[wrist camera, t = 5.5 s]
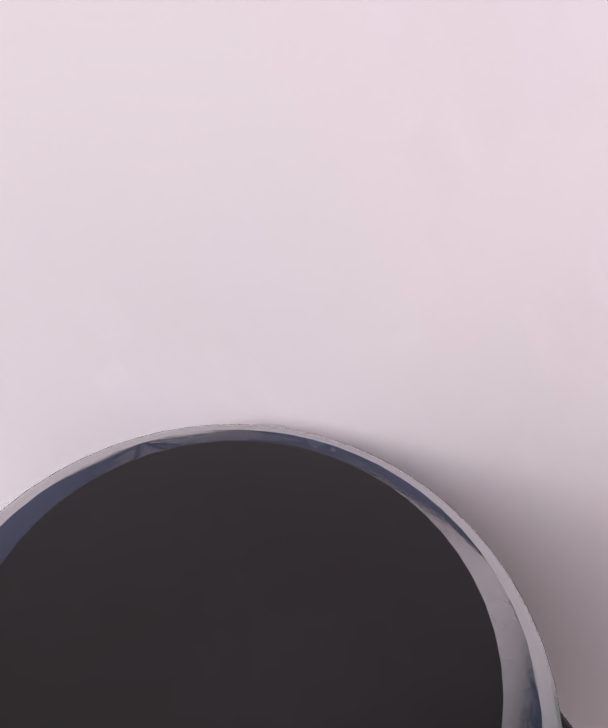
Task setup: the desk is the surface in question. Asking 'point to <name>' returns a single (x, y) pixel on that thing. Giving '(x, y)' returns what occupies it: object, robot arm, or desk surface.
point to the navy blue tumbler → (256, 594)
